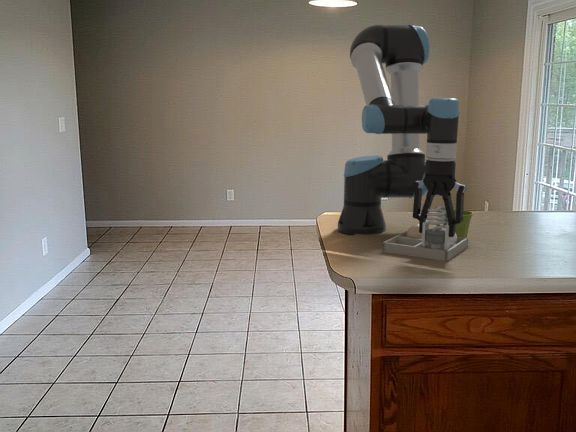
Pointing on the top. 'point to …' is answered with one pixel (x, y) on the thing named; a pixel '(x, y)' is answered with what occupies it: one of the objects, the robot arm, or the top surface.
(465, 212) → the plant pot
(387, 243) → the carton
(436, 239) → the light bulb
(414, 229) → the brown egg
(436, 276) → the top surface
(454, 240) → the white egg
